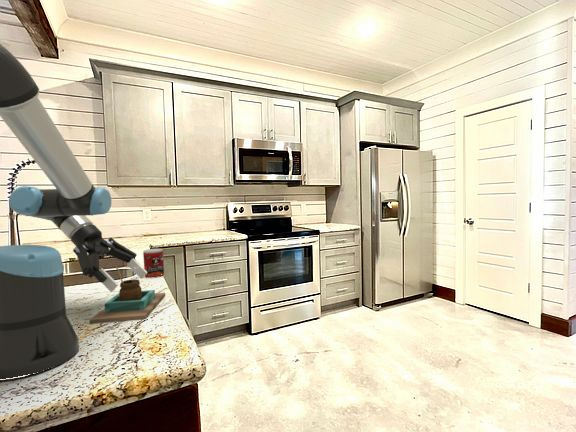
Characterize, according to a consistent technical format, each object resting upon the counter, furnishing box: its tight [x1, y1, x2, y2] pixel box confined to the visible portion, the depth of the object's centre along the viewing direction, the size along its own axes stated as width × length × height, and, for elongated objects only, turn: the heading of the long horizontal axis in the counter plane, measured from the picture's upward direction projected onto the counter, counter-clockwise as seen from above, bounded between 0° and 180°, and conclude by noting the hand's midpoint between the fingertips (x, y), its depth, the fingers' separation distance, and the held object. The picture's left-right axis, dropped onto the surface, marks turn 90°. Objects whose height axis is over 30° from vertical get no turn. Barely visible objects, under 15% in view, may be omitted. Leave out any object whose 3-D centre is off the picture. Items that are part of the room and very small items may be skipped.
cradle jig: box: [89, 289, 166, 324], centre depth 92 cm, size 20×14×4 cm
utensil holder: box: [115, 266, 143, 301], centre depth 91 cm, size 6×6×12 cm
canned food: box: [142, 248, 165, 278], centre depth 130 cm, size 8×8×11 cm
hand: (130, 281), depth 92 cm, fingers open, 13 cm apart
